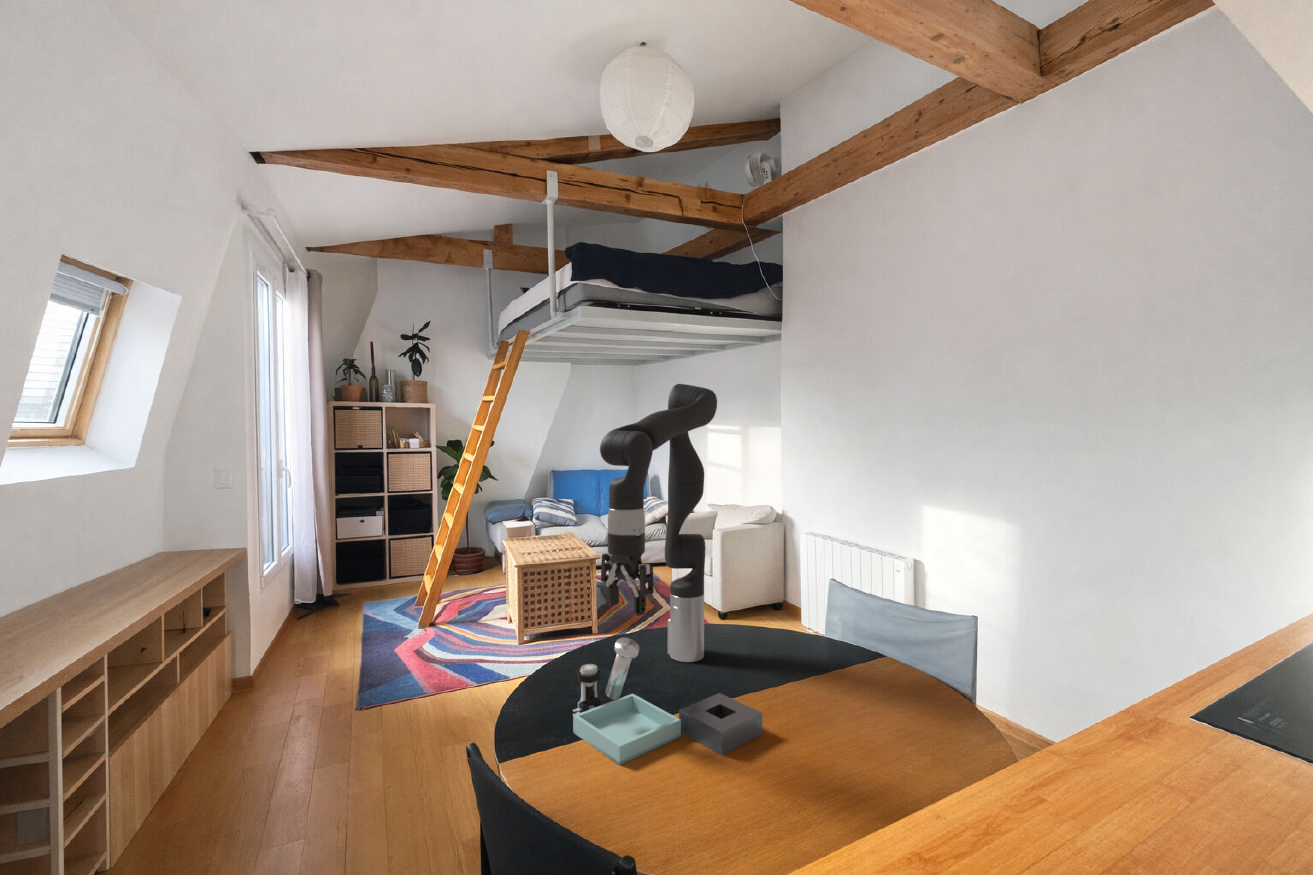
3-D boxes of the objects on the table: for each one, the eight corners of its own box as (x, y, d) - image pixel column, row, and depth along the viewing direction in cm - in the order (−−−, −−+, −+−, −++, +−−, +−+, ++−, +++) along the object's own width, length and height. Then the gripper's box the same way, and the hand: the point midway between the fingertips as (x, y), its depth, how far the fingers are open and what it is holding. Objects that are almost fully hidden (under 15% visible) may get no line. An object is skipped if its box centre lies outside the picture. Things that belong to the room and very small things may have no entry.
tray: (573, 732, 125) (573, 715, 125) (632, 709, 136) (632, 693, 136) (619, 765, 114) (619, 746, 114) (680, 736, 124) (680, 719, 124)
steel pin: (596, 688, 128) (610, 640, 124) (615, 681, 131) (630, 635, 127) (609, 705, 125) (624, 657, 120) (628, 698, 128) (644, 651, 124)
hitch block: (679, 731, 126) (679, 709, 126) (719, 713, 134) (719, 692, 134) (721, 755, 117) (721, 732, 117) (762, 734, 125) (762, 712, 125)
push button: (579, 722, 130) (579, 675, 129) (566, 712, 134) (566, 667, 134) (605, 713, 134) (605, 668, 133) (593, 704, 138) (593, 660, 138)
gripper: (590, 527, 126) (590, 605, 127) (633, 537, 116) (633, 622, 116) (619, 523, 131) (619, 598, 132) (663, 532, 120) (663, 614, 121)
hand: (626, 609), depth 124 cm, fingers open, 8 cm apart
